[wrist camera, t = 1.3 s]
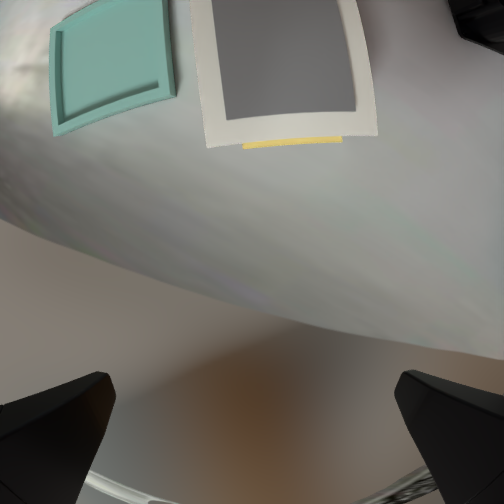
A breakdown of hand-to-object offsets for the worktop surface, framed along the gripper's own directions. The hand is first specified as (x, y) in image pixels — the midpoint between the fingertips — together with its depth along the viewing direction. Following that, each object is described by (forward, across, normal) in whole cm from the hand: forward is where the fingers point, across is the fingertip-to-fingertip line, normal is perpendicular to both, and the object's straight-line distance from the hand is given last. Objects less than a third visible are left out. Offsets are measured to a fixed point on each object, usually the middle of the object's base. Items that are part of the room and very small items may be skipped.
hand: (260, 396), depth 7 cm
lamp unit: (+12, +2, +12) cm, 17 cm away
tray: (+13, -11, +15) cm, 23 cm away
